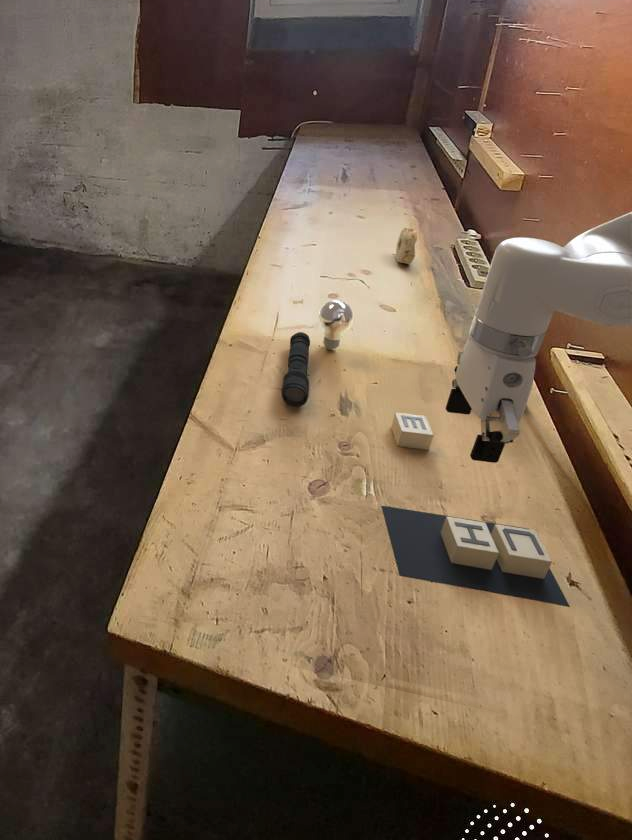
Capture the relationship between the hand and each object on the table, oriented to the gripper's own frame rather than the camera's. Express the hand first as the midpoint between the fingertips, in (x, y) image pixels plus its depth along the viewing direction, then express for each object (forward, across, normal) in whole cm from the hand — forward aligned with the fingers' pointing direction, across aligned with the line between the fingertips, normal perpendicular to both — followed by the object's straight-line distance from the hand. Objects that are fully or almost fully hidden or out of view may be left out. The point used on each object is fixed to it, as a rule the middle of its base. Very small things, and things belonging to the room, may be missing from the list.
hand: (469, 434), depth 79 cm
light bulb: (+15, +43, +10) cm, 47 cm away
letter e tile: (+15, +16, +1) cm, 22 cm away
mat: (+15, -7, -1) cm, 17 cm away
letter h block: (+15, -7, 0) cm, 16 cm away
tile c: (+15, -8, -7) cm, 18 cm away
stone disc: (+15, +93, -17) cm, 96 cm away
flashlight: (+16, +31, +18) cm, 39 cm away
